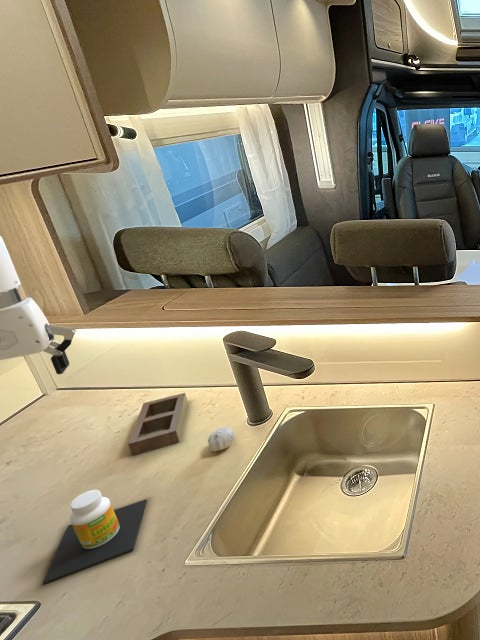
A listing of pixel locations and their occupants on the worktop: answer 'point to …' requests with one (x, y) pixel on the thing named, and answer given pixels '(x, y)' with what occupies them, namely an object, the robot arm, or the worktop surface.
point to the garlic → (221, 439)
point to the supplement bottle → (93, 519)
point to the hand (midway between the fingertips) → (28, 377)
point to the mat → (79, 558)
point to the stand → (159, 424)
